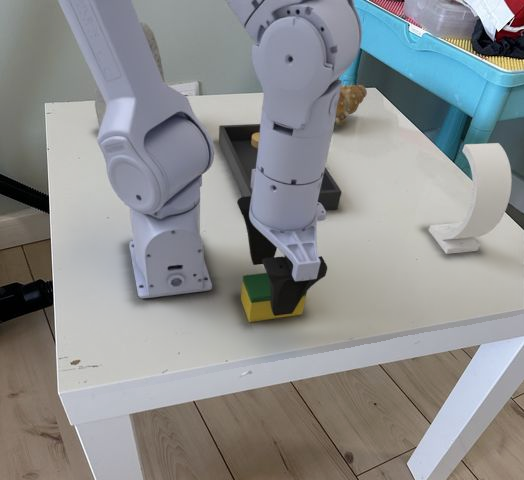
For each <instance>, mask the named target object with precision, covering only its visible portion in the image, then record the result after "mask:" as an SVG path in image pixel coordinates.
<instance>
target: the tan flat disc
mask: <svg viewBox="0 0 524 480" xmlns="http://www.w3.org/2000/svg"><path fill="white" fill-rule="evenodd" d="M259 134H260V132H258V133H254V134H253V135H252V140H251V144H252V146H253V147H255V148H257V149H258V144H259Z"/></svg>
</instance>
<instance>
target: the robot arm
mask: <svg viewBox="0 0 524 480" xmlns="http://www.w3.org/2000/svg"><path fill="white" fill-rule="evenodd" d="M224 1H225V2H226V4H227V5H228V7H229V8H230V10H231V11H232V12H233V14H234V15H235V17H236V18H237V20H238V21H239V23H240V24H241V25H242V27H243V28H244V29H245V31H246V33H247V34H248V36H249V37H250V39H251V40H252V41H253V42H254V43H255V44H253V45H252V46H251V60H252V66H253V70H254V72H255V75H256V77H257V79H258V81H259V84H260V85H261V89H262V95H263V97H262V105H261V114H260V123H259V124H260V134H259V144H258V154H257V162H256V169H252V175H251V188H252V196H247V197H243V196H241V197H239V198H238V199H237V203H236V204H237V206H238V208H239V211H240V213H241V215H242V217H243V221H244V224H245V227H246V228H245V229H246V233H247V239H248V247H249V254H250V260H251V262H252V265H253V266H259V265H263V267H264V270H265V273H267V275H268V277H269V281H270V303H271V309H272V312H273V315H274V316H278V315H285V314H292V313H293V312H294V310H295V308H296V307H297V305H298V303H299V302H300V300H301V299H302V297H303V296H304V294H305V293H306V292H307V293H308V291H309V290H310V288H311V287H313V286H314V285H315V284H316V283H317V282H318V281H320V280H322V279H323V278H324V277H326V275H327V271H328V265H327V263H326V261H325V259H324V258H323V256H319V254H318V249H317V246H318V245H317V238H318V237H317V234H318V233H317V227H318V222H321V221H324V220H325V219H326V217H327V213H328V212H327V210H325V209H324V207H323V205H322V204H321V203H319V202H318V197H319V192H320V188H321V183H322V179H323V174H324V170H325V167H326V166H327V165H326V164H327V160H328V156H329V152H330V151H329V150H330V146H331V142H332V137H333V132H334V128H335V125H334V123H335V117H336V109H337V104H338V100H339V95H340V90H341V85H343V81H342V80H341V79H339V78H340V77H341V76H342V75H343V74H344V73H346V72H347V71H348V69H350V68H351V66H352V64H353V63H354V62H355V60H356V58H357V57H358V54H359V52H360V49H361V46H362V40H363V29H362V28H363V27H362V22H361V18H360V14H359V12H358V10H357V8H356V7H355V1H354V0H224ZM57 2H58V4H59V6H60V8H61V10H62V12H63V15H64V17H65V19H66V21H67V24H68V26H69V27H70V30H71V32H72V35H73V36H74V38H75V40H76V42H77V45H78V47H79V49H80V51H81V53H82V55H83V57H84V59H85V62H86V64H87V66H88V68H89V71H90V72H91V74H92V77H93V79H94V82H95V81H96V83H97V85H98V88H99V90H100V92H101V94H102V96H103V98H104V100H105V103H106V111H105V114H104V118H103V121H102V124H101V127H100V130H99V129H98V133H97V137H96V142H97V144H98V147H99V149H100V151H101V153H102V156H103V158H104V161H105V167H106V168H105V169H106V174H107V177H108V180H109V184H110V186H111V188H112V190H113V192H114V193H115V194H116V196H117V197H118V199H119V200H120V201H121V202H122V203H123V204H124V205H125V206H126V207H129V217H130V224H131V230H132V231H131V232H132V240H131V241H129V243H128V247H129V251H130V252H129V253H130V257H131V262H132V268H133V275H134V279H135V285H136V290H137V296H138V298H140V299H150V298H158V297H168V296H174V295H175V296H176V295H182V294H190V293H191V294H192V293H199V292H207V291H211V290H212V289H213V284H212V281H211V277H210V274H209V270H208V268H207V264H206V261H205V259H204V251H205V250H204V248H205V247H204V242H203V240H202V239H203V238H202V236H201V187H202V186H203V175H204V174H205V173H206V172H208V171H209V169H210V168H211V167H212V164H213V162H214V158H215V148H214V143H213V141H212V137H211V136H210V133H209V131H208V130H207V128H206V127H205V126H204V125H203V123H202V122H201V121H200V120H199V119H198V117H197V116H196V114H195V112H194V110H193V108H192V105H191V103H190V100H189V98H188V96H186V95H185V94H183V93H182V92H180V91H178V90H176V89H175V88H173V87H171V86H169V85H168V84H166V83H165V81H164V82H163V80H162V77H161V75H160V72H159V69H158V67H157V64H156V62H155V59H154V57H153V54H152V52H151V49H150V47H149V44H148V42H147V39H146V36H145V34H144V31H143V29H142V26H141V24H140V22H141V21H140V19H139V16H138V14H137V11H136V8H135V5H134V3H133V1H132V0H57ZM277 250H279V251H280V252H281V253H282V254H283V255H284V256H283V255H282V256H276V253H277Z"/></svg>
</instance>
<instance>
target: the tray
mask: <svg viewBox="0 0 524 480" xmlns="http://www.w3.org/2000/svg"><path fill="white" fill-rule="evenodd" d="M260 124H261V123H249V124H247V123H246V124H221V125H219V126H218V144H219V147H220V149H221V151H222V154H223V156H224V157H225V160H226V162H227V165H228V167H229V169H230V171H231V173H232V176H233V178H234V180H235V182H236V185H237V187H238V189H239V192H240V194H241V197H247V196H252V188H251V175H252V169H256V162H257V154H258V149H257V148H255V147H253V146H252V144H251V140H252V135H253V134H254V133H258V132H260ZM342 193H343V192H342V190H341V189H340V187H339V185H338V184H337V182H336V181H335V179H334V178H333V176H332V174H331V172H329V171H328V169H327V167H326V166H325V170H324V174H323V179H322V183H321V188H320V192H319V197H318V202H319V203H321V204H322V205H323V207H324V209H325V210H326V211H330V210H338V208H339V205H340V201H341V197H342Z"/></svg>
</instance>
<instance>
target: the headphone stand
mask: <svg viewBox="0 0 524 480" xmlns="http://www.w3.org/2000/svg"><path fill="white" fill-rule="evenodd" d="M461 152H462V153H463V154H464V156H465V158H466V159H467V161H468V164H469V167H470V171H471V178H472V179H471V180H472V192H471V199H470V203H469V206H468V210H467V212H466V215H465V216H464V218H463V220H462V221H461V222H452V223H451V222H450V223H439V224H430V226H429V228H428V232H429V234H431V236H432V237H433V238H434V240H435V241H436V242H437V244H438V245H439V247H440V248H441V249H442V250H443V252H444V253H445V254H446V255H449V254H459V253H460V254H461V253H469V252H477V251H479V248H480V244H479V243H478V242H477V240H476V239H475V238H479V237H483V236H485V235H487V234H489V233H490V232H491V231H493V230H494V229H495V228H496V227H497V225H498V224H499V223H500V221H502V218H503V217H504V215H505V213H506V211H507V208H508V205H509V201H510V197H511V192H512V169H511V168H512V167H511V164H510V160H509V157H508V155H507V153H506V151H505V149H504V148H503V146H502V145H501V144H500V143H499V142H492V143H489V142H487V143H466V144H464V146H463V148H462V151H461Z"/></svg>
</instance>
